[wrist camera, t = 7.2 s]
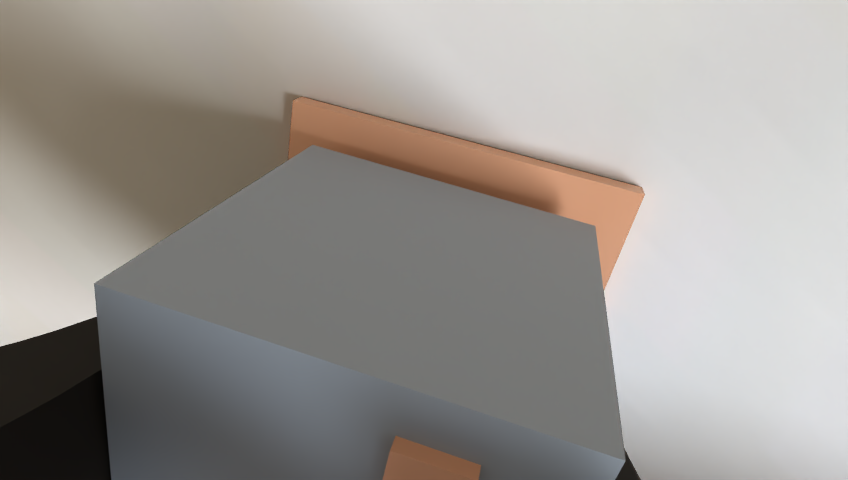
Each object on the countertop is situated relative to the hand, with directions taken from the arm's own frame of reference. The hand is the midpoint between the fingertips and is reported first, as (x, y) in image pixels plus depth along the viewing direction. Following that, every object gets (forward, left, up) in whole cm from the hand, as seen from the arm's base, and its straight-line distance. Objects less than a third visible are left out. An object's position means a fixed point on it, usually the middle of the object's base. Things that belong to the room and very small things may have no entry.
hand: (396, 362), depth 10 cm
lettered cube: (0, 0, -2) cm, 2 cm away
